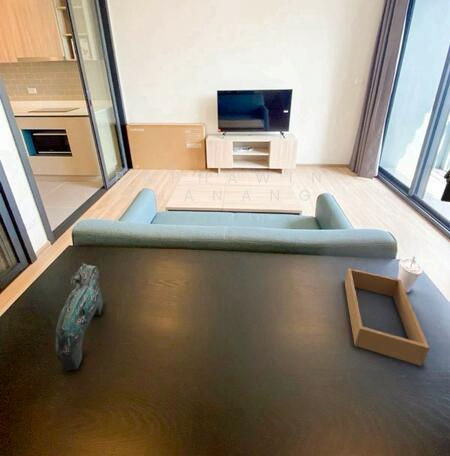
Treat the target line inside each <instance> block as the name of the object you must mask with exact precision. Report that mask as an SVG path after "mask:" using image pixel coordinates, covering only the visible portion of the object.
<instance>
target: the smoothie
mask: <svg viewBox="0 0 450 456" xmlns="http://www.w3.org/2000/svg"><path fill="white" fill-rule="evenodd" d="M415 259H416V256H413V257H412V258H411V260H410V259H400V260H399V262H398V274H397V279H400V280H401V282H402V284H403V287H404V289H405V291H406V294H407V293H410V292H411V290H412V288H413V287H414V285H415V284H416V282H417V281H418V279H419V277H421V276H423V275H422V274H423V268H422V267H421V266H420V265H419V264H418V263H416V262H415Z"/></svg>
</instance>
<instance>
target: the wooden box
mask: <svg viewBox="0 0 450 456" xmlns="http://www.w3.org/2000/svg"><path fill="white" fill-rule="evenodd" d="M344 287H345V294H346V300H347V306H348V312H349V319H350V325H351V331H352V332H351V333H352V338H353V344H354V346H355V347H359V348H362V349H365V350H368V351H371V352H375V353H377V354H381V355H384V356H387V357H391V358H394V359H398V360H401V361H403V362H407V363H411V364H413V365H417V366H420V367H421V366H422V365H423V363H424V361H425V359H426V356H427V355H428V353H429V351H430V346H429V343H428V342H427V341H428V340H427V339H426V336H425V335H424V332H423V330H422V327H421V324H420V322H419V320H418V318H417V315H416V313H415V311H414V308H413V306H412V304H411V301H410V299H409V297H408V294H407V293H406V291H405V289H404V287H403V284H402V282H401V280H400V279H398V278H394V277H390V276H386V275H382V274H377V273H373V272H368V271H363V270H359V269H355V268H350V267H348V268H347V272H346V276H345V280H344ZM357 288H358V289H360V290H364V291H369V292H373V293H377V294H381V295H385V296H388V297H389V296H390V297H393V300H394V303H395V306H396V308H397V311H398V314H399V317H400V319H401V323H402V326H403V328H404V330H405V334H406V336H407V338H404V337H402V336H397V335H393V334H390V333H386V332H383V331H379V330H376V329H372V328H369V327H365V326H363V322H362V317H361V311H360V306H359V303H358V298H357V297H358V296H357V291H356V289H357Z"/></svg>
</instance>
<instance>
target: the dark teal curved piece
mask: <svg viewBox="0 0 450 456" xmlns="http://www.w3.org/2000/svg"><path fill="white" fill-rule="evenodd" d="M81 264H82V266H80V267H79V269H78V270H77V271H76V272H75V273H73V275H72V277H71V278H70V284H71V285H73V288H74V289H72V291H71V292H70V294H69V295H68V297H67V298H66V301H65V303H64V305H63V308H62V309H61V311H60V313H59V316H58V320H57V323H56V328H55V334H54V335H55V336H54V337H55V338H54V351H55V354H56V358H57V359H58V361H59V362H60V363H61V364H62V365H63V367H64V369H65V370H66V371H71V370H78V368H79V366H80V364H81V361H82V359H83V350H82V349H83V339H84V335H85V332H86V329H87V328H88V327H89V325H90V322H91V320H92V319H93V317H95V316H100V315H101V313H102V309H103V307H104V301H103V296H102V291H101V288H100V283H99V278H100V272H99V269H98V267H97V266H96V265H89V264H86V262H82V263H81Z"/></svg>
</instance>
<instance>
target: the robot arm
mask: <svg viewBox="0 0 450 456" xmlns="http://www.w3.org/2000/svg"><path fill="white" fill-rule="evenodd" d="M443 179H445V183H446V184H445V187H444V189H443V191H442V194H441V197H440V201H441V202H445V203H450V168H449V169H448V170H447V171H446V173H445V174H444V176H443Z"/></svg>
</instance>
